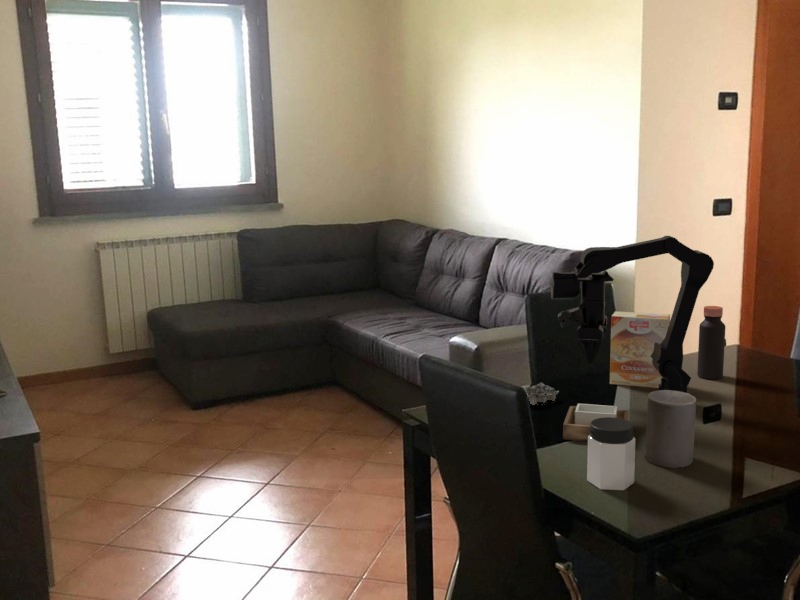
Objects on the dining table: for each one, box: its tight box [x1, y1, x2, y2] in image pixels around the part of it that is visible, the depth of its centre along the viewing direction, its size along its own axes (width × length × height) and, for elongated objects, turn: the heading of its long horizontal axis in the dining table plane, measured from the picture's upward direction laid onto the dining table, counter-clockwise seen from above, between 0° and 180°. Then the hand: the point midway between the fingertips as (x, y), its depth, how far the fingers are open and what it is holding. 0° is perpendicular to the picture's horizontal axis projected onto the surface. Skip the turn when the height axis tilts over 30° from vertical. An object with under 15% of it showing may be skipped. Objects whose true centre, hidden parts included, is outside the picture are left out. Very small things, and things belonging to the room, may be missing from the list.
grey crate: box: [575, 403, 618, 425], centre depth 183 cm, size 9×6×5 cm, turn 72°
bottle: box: [696, 305, 726, 381], centre depth 223 cm, size 7×7×20 cm
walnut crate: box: [562, 405, 630, 442], centre depth 183 cm, size 14×14×4 cm
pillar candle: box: [644, 390, 697, 469], centre depth 165 cm, size 10×10×15 cm
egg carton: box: [524, 381, 560, 405], centre depth 207 cm, size 11×8×4 cm
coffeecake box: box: [609, 310, 671, 389], centre depth 219 cm, size 15×7×20 cm, turn 67°
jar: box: [586, 417, 636, 491], centre depth 155 cm, size 9×8×12 cm
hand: (591, 359), depth 201 cm, fingers open, 9 cm apart
